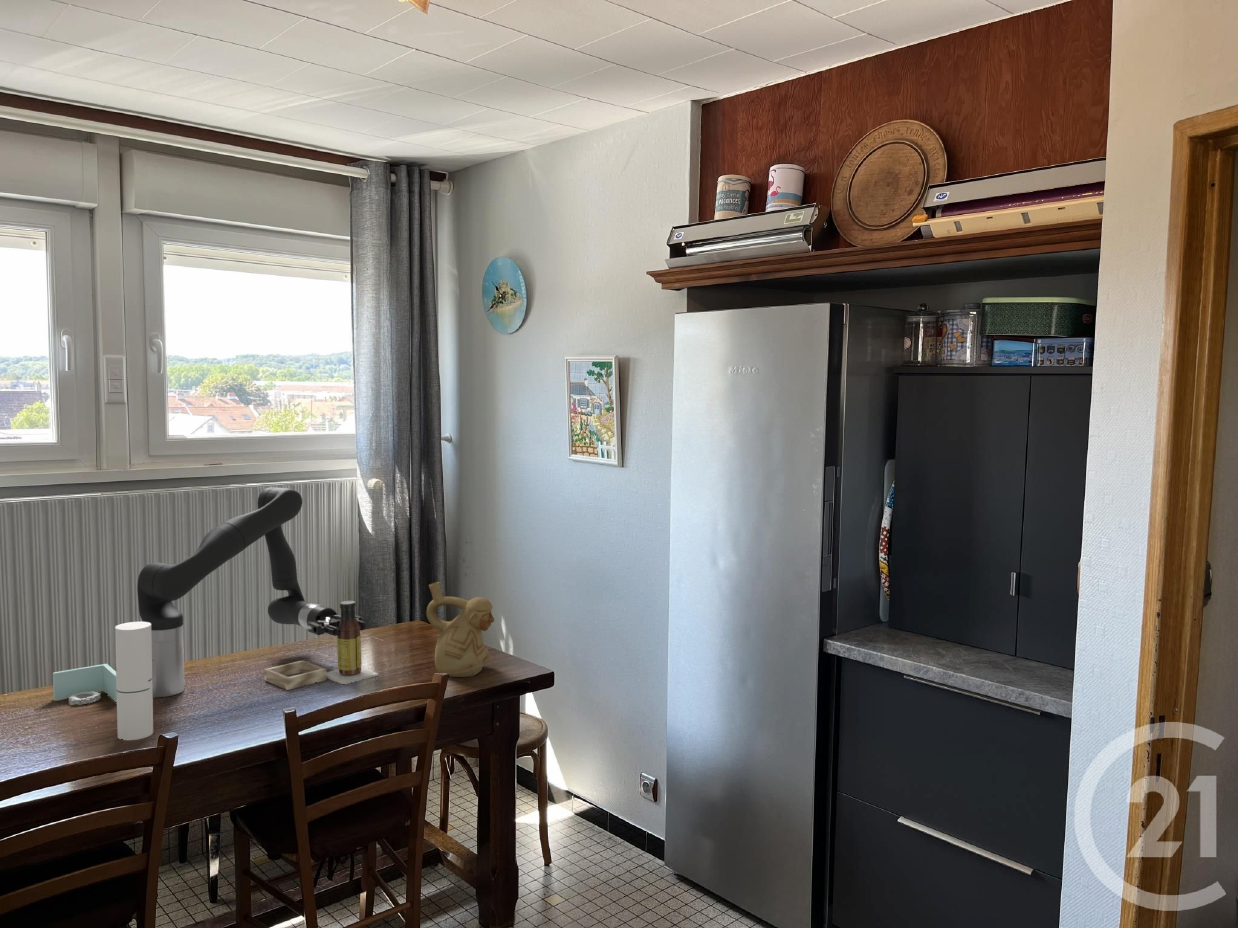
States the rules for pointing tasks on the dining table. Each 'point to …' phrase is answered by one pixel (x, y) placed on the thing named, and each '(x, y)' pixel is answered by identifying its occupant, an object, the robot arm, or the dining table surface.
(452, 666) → the ceramic vessel
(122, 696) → the cylindrical container
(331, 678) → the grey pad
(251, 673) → the dining table surface
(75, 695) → the l-shaped corner panel
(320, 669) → the wood collar
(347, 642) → the sauce bottle
